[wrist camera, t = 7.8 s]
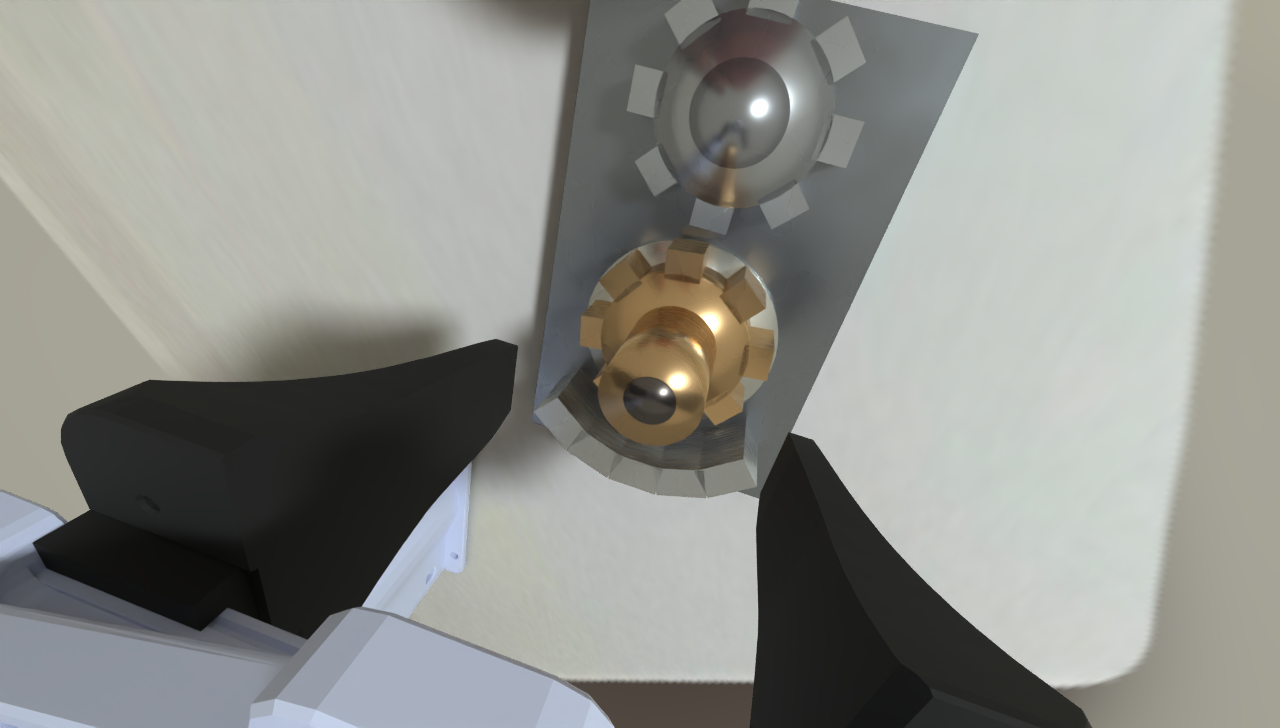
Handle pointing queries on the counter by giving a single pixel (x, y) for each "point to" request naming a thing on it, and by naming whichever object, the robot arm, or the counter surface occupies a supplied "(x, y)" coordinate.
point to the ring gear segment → (648, 447)
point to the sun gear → (745, 108)
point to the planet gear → (675, 343)
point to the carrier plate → (780, 257)
